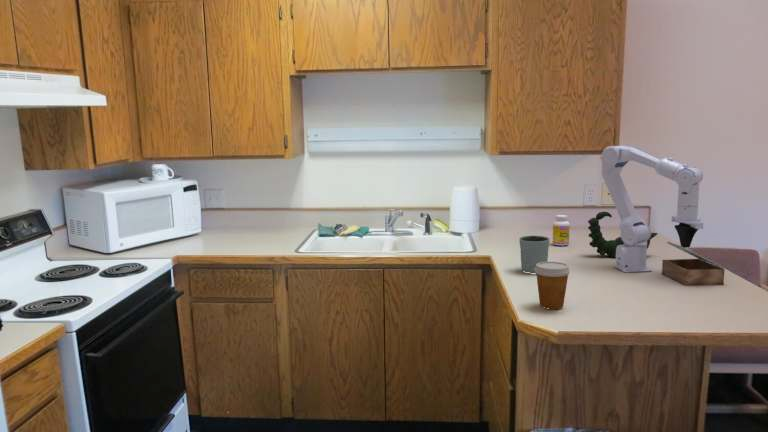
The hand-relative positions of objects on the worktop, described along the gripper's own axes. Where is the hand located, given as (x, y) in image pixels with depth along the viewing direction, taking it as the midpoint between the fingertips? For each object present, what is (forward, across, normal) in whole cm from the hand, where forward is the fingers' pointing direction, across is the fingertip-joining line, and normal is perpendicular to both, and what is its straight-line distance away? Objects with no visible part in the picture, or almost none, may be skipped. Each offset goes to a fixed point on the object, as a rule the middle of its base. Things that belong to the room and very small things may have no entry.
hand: (685, 247), depth 173 cm
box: (+10, -1, -2) cm, 11 cm away
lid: (+3, -1, -3) cm, 4 cm away
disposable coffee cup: (+11, -24, +51) cm, 57 cm away
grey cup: (+11, +14, +45) cm, 48 cm away
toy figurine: (+11, +32, +6) cm, 34 cm away
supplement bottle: (+11, +55, +22) cm, 60 cm away
